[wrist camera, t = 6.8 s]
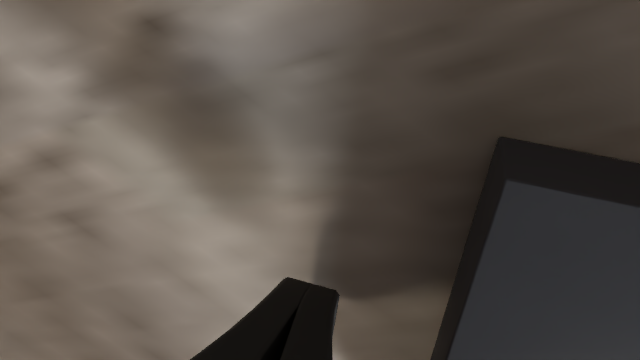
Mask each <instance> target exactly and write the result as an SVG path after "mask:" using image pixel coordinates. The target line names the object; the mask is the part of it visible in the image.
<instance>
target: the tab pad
mask: <svg viewBox="0 0 640 360" xmlns="http://www.w3.org/2000/svg"><path fill="white" fill-rule="evenodd" d="M431 360H640V164H639V163H633V162H628V161H623V160H618V159H613V158H608V157H603V156H597V155H592V154H587V153H582V152H577V151H572V150H566V149H561V148H556V147H551V146H546V145H541V144H536V143H530V142H525V141H520V140H515V139H510V138H505V137H499V138H498V141H497V144H496V147H495V151H494V154H493V157H492V161H491V164H490V167H489V170H488V174H487V177H486V180H485V183H484V187H483V190H482V193H481V196H480V200H479V203H478V206H477V210H476V213H475V216H474V219H473V223H472V226H471V229H470V232H469V236H468V239H467V242H466V245H465V249H464V252H463V255H462V259H461V262H460V265H459V268H458V272H457V275H456V278H455V281H454V285H453V288H452V291H451V294H450V298H449V301H448V304H447V307H446V311H445V314H444V317H443V321H442V324H441V327H440V330H439V334H438V337H437V340H436V343H435V347H434V350H433V353H432V356H431Z"/></svg>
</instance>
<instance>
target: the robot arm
mask: <svg viewBox="0 0 640 360" xmlns="http://www.w3.org/2000/svg"><path fill="white" fill-rule="evenodd" d="M339 296H340V295H339V294H338V292H337V291H336V290H333V289H330V288H326V287H322V286H319V285H315V284H311V283H307V282H304V281H300V280H296V279H293V278H289V277H287V278H285V279H283V280H282V281H281V282H280V283H279V284H278V285H277V287H276V288H275V289H274V290H273V291H272V292H271V293H270V294H269V295H268V296H266V297H265V298H264V299H263V300H262V301H261V302H260V303H259V304H258V305H257V306H256V307H255V308H254V309H253V310H252V311H250V312H249V313H248V314H247V315H246V316H245V317H243V318H242V319H241V320H240V321H239V322H238V323H236V324H235V325H234V326H233V327H232V328H231V329H229V330H228V331H227V332H226V333H225V334H223V335H222V336H221V337H219V338H218V339H217V340H215V341H214V342H213V343H212V344H210V345H209V346H208V347H206V348H205V349H204V350H202V351H201V352H200V353H198V354H197V355H196V356H194V357H193V358H191V359H190V360H332V336H333V330H334V325H335V319H336V313H337V307H338V301H339Z"/></svg>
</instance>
